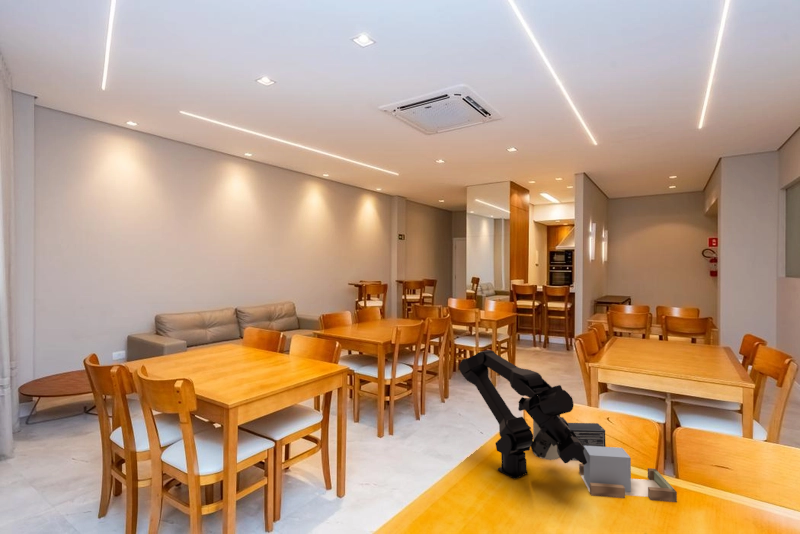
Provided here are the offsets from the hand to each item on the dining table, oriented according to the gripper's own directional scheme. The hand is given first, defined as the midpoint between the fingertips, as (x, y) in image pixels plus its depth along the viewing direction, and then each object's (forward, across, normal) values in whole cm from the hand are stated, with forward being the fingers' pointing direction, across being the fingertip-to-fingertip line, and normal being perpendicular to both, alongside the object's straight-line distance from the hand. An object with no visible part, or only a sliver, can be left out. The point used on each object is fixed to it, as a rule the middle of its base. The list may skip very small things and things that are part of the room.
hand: (585, 463), depth 111 cm
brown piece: (+12, -2, +3) cm, 13 cm away
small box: (+9, -19, -1) cm, 21 cm away
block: (+9, -2, 0) cm, 9 cm away
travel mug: (+1, -19, -10) cm, 21 cm away
